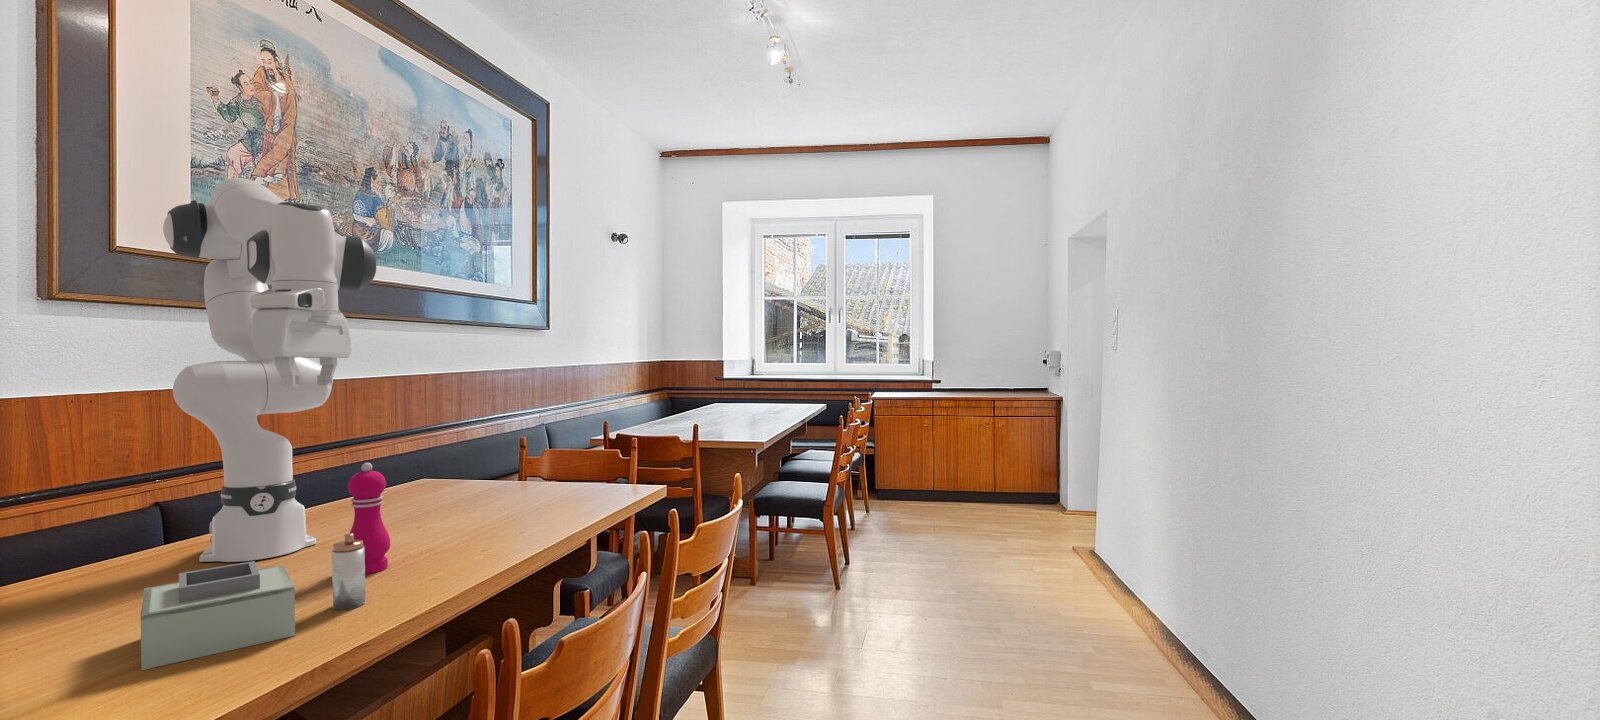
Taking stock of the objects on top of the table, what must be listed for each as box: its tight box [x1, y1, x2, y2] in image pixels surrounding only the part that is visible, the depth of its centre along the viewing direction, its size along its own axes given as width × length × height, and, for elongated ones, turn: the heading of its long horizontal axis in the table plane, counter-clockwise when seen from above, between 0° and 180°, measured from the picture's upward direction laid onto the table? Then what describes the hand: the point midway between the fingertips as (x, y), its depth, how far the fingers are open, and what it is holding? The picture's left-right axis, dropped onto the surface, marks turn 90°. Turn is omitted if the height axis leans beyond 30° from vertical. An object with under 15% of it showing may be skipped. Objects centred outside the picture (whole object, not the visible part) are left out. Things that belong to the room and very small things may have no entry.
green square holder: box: [139, 560, 296, 671], centre depth 100 cm, size 14×16×9 cm
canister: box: [331, 532, 366, 611], centre depth 112 cm, size 4×4×12 cm
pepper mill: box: [347, 462, 391, 575], centre depth 130 cm, size 7×7×20 cm
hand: (308, 386), depth 114 cm, fingers open, 8 cm apart
